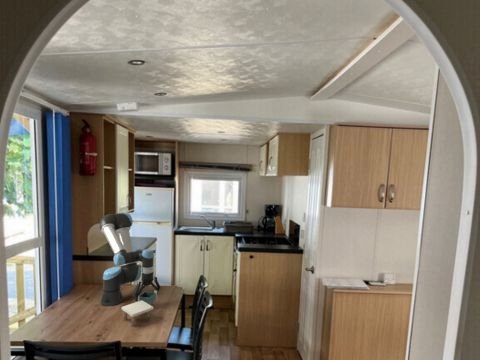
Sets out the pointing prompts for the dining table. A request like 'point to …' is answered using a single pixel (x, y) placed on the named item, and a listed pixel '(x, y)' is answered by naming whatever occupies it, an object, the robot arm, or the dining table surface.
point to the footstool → (137, 310)
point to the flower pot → (147, 297)
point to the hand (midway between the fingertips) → (146, 302)
